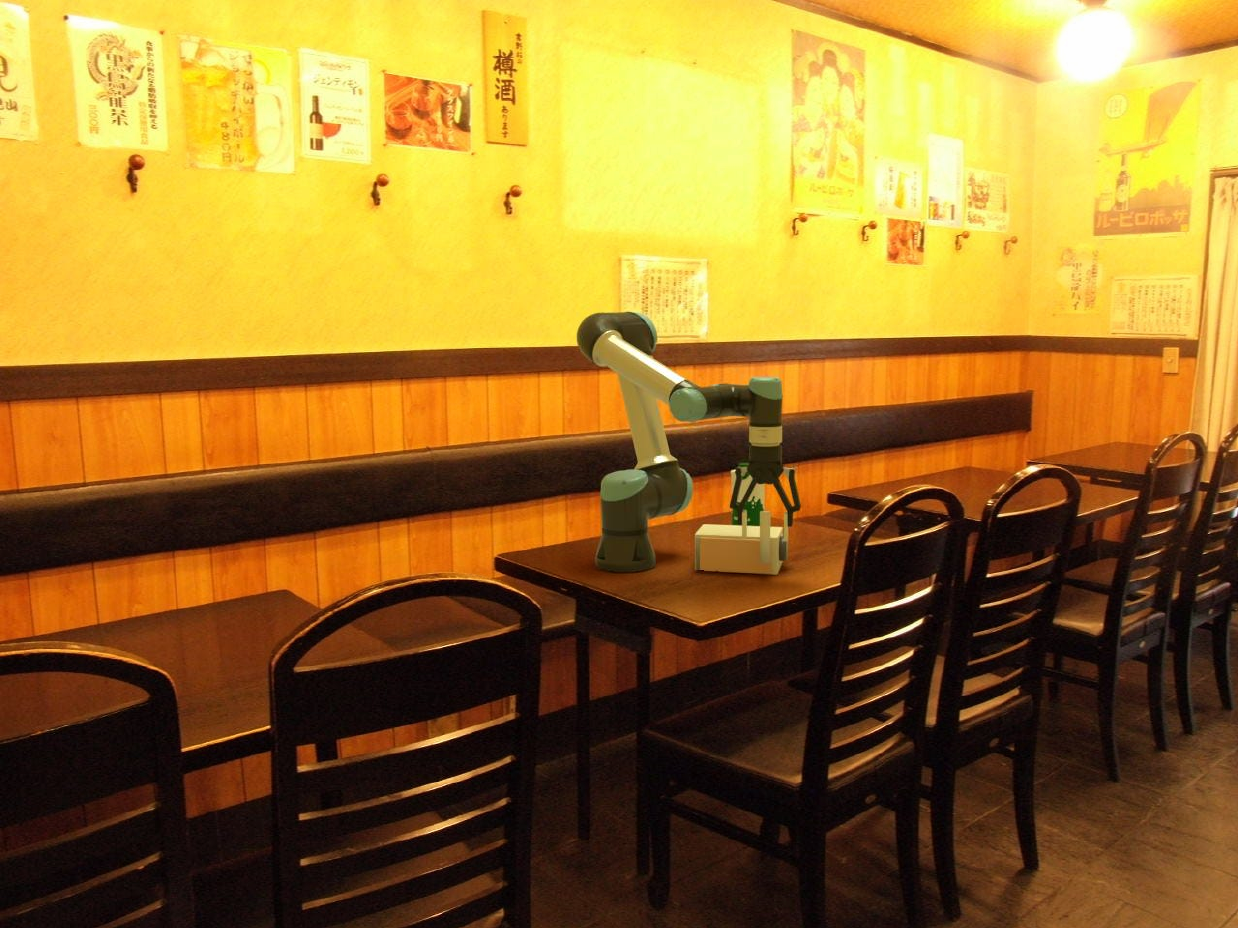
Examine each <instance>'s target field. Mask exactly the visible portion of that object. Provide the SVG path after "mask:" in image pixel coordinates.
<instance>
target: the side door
mask: <svg viewBox="0 0 1238 928" xmlns="http://www.w3.org/2000/svg"><path fill="white" fill-rule="evenodd" d="M770 527H771V511H770V510H765V511H760V540H757V539H745V540H742V539H733V538H709V537H696V570H695V571H697V570H704V571H703V572H716V571H724V572H723V573H736V572H744V573H743V574H756V573H763V574H762V575H772V574H771V540H770Z"/></svg>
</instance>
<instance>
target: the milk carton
mask: <svg viewBox="0 0 1238 928" xmlns="http://www.w3.org/2000/svg"><path fill="white" fill-rule="evenodd" d="M748 464H749V462H739V463H738V467H739V466H740V467H747V466H748ZM735 470H736V468H735V469H731V470H730V477H731V495H732V494H733V490H734V485H735V481H736V471H735ZM752 479H753V478H752V477H751V475H750V474H749V473H748V471H747V472H746V473H745V475H744V476H743V478H742V483H741V487H740V491H739V495H738V499H737V504H740V502H741V500H742V499H743V497H744V495H745V493H746V491H747V489H748V487H749V485H750V483H751V481H752ZM765 490H766V489H765V484H758V483H757V484H756V486H755V488H754V490H753V491H752V493H751V495H750V497H749V499H748V501H747V503H746V505H745V507H744V509H743V510H747V526H760V511H766V510H765V504H766V503H765V497H766V495H765V494H766V493H765ZM731 525H738V513H737V511H736V510H735V509H731ZM738 526H742V525H738Z"/></svg>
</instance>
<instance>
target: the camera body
mask: <svg viewBox="0 0 1238 928" xmlns="http://www.w3.org/2000/svg"><path fill="white" fill-rule="evenodd" d="M696 537H709V538H733V539H742V526H738V525H732V524H711V523H709V524H708V523H707V524H706V523H704V524H702V525H701V527H699V529H698V530H697V531H696V533H695V534H694V571H697V570H696ZM746 539H757V540H760V526H747V538H746ZM770 540H771V574H770V575H776V576H777V575H778V574H779V572H780V569H781V567H782V564H783V562H787V561H788V553H789V550H788V549H789V540H788V541H784V526H770ZM718 572H720V573H725V572H724V571H718ZM735 573H739V574H745V573H744V572H735ZM755 574H757V575H758V574H760V575H764V574H763V573H755Z"/></svg>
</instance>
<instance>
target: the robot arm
mask: <svg viewBox="0 0 1238 928" xmlns="http://www.w3.org/2000/svg"><path fill="white" fill-rule="evenodd" d="M576 342H577V343H576V344H577V346H578V349H579V350H580V352H581V353H582V355H583V356H584V357H586V358H587V359H588V360H589V361H591V362H592V363H594V364H595V365H597V366H599V367H608V368H609V369H610V370H611V371H614V372H615V373H616V374H617V378H618V382H619V386H620V387H619V388H620V391H621V395H622V399H623V404H624V407H625V411H626V417H627V421H628V425H629V429H630V434H631V438H632V443H633V445H634V446H633V447H634V451H635V455H636V458H637V459H636V461H637V464H636V466H635V467H634V469H625V470H617V471H614V472H611V473H608V474H607V475H605V476H603V478H602V480H601V482H600V492H599V496H600V517H601V523H600V524H601V536H600V541H599V543H598V546H597V551H596V553H595V557H594V560H595V561H594V562H595V565H596V566H595V567H596V568H597V567H598V568H600V569H599V570H601V569H603V570H602V571H604V570H607V571H606V572H610V571H614V572H613V573H636V572H637V571H638V572H642V571H643V570H644V571H647V570H650V569H653V568H654V567H655V566H656V565H655V564H657V563H656V554H655V551H654V547H653V546H652V545H653V544H652V542H651V539H650V537H649V520H652V519H653V520H654V519H658V518H662V517H669V516H670V517H671V516H673V515H675V514H678V513H681V512H683V511H684V510H685V509H687V507H689V504H690V502H691V501H692V500H693V499H692V498H693V496H694V485H693V484H694V483H693V480H692V477H691V476H690V474H689V473H687V471H686V470H685V469H683V468H681V467H680V464H679V459H677V458H676V457H674V456H673V455H671V452H670V448H669V445H668V439H667V435H666V432H665V426H664V423H663V417H662V414H661V409H660V406H659V401H660V402H662V403H664V404H665V405H667V406H669V411H670V413H671V414H672V416H673V418H674V419H675V420H677V421H679V422H688V423H695V422H699V421H703V420H711V419H713V420H714V419H719V418H726V417H727V418H728V417H740V418H741V417H742V418H748V422H749V424H748V425H749V429H748V432H749V433H748V441H749V443H751V444H750V445H749V447H748V451H749V452H748V463H749V464H748V466H747V467H740V466H739V467H736V468H735V469H736V470H735V469H734V470H735V471H736V481H735V485H734V490H733V494H732V493H731V499H730V503H729V509H730V510H732V509H735V510H736V511H737V513H738V525H742V540H745V539H746V538H747V510H743V509H744V507H745V505H746V503H747V501H748V499H749V497H750V495H751V493H752V491H753V490H754V488H755V486H756V484H757V483H758V484H766V485H773V487H774V488H775V490H776V493H777V494H778V496H779V498H780V500H781V502H782V504H783V506H784V507H785V510H786V511H784V513H783V536H784V541H788V542H789V527H791V528H792V527H793V525H794V513H796V512H799V511H801V508H802V504H801V499H800V494H799V491H798V487H797V483H796V482H797V481H796V478H795V477H796V470H797V469H796V468H795V467H791V468H789V467H784V465H783V459H782V458H783V446H782V445H781V443H782V442H783V422H782V415H783V414H782V413H783V398H784V395H783V383H782V379H781V378H779V377H776V376H754V377H753V376H752V377H751V378H750V379H749V381H748V382H749V383H748V384H746V385H745V384H732V383H728V382H727V383H726V382H725V383H714V384H712V385H708V386H699V385H697V384H696V383H694V382H692V381H691V380H689V379H687V378H686V377H684V376H682V375H681V374H679V373H678V372H676V371H674V370H673V369H671V368H670V367H668V366H666V365H664V364H663V363H661V362H660V361H659V360H656V359H655V358H654V355H653V353H654V352H655V351H654V350H656V347H657V345H656V343H658V333H657V329H656V326H655V324H654V322H653V321H652V320H651V319H650V317H648V316H647V315H645V314H644V313H641V312H635V311H621V312H595V313H593V314H589V315H588V316H586V317H585V318H584V319H583V320H582V321H581V323H580V324H579V326H578V328H577V332H576ZM658 400H659V401H658ZM747 471H748V473H749V474H750V475H751V477H752V478H753V479H752V481H751V483H750V485H749V487H748V489H747V491H746V493H745V495H744V497H743V499H742V500H741V502H740V504H737V499H738V495H739V491H740V487H741V483H742V478H743V476H744V475H745V473H746V472H747ZM783 473H784V474H785V477H786V478H788V484H789V488H790V493H791V496H792V497H791V498H792V501H793V505H792V503H791V501H790V499H789V497H788V495H787V493H786V491H785V488H784V487H783V484H782V482H781V481H780V477H781V476H782V474H783ZM598 568H597V569H598ZM638 572H637V573H638Z"/></svg>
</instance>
